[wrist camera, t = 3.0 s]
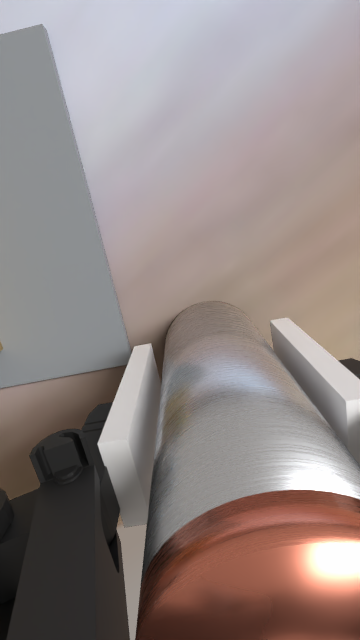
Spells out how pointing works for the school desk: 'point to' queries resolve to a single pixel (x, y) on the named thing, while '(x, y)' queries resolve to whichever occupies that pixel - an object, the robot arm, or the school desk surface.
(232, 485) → the copper-capped silver cylinder
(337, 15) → the school desk surface
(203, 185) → the school desk surface
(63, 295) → the mat
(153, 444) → the robot arm
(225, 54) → the school desk surface
